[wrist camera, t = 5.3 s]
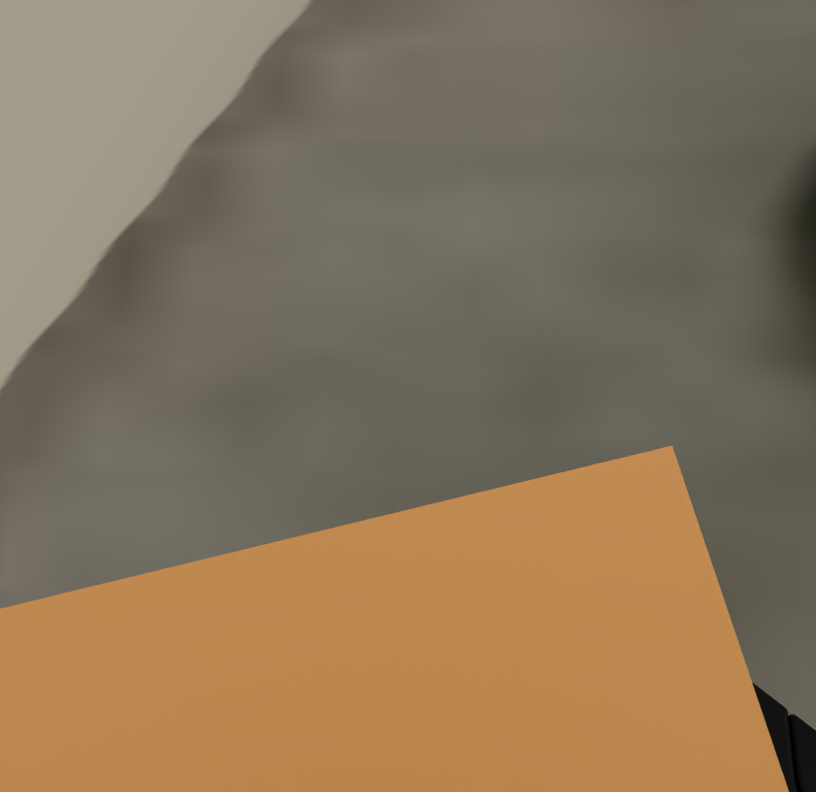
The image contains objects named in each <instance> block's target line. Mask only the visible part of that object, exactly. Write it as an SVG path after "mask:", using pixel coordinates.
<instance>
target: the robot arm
mask: <svg viewBox="0 0 816 792" xmlns="http://www.w3.org/2000/svg"><path fill="white" fill-rule="evenodd" d="M752 684H753V687H754V690H755V693H756V696H757V699H758V702H759V705H760V708H761V710H762V713H763V716H764V719H765V722H766V725H767V728H768V731H769V734H770V737H771V740H772V743H773V746H774V749H775V752H776V755H777V758H778V761H779V764H780V767H781V770H782V773H783V776H784V779H785V782H786V784H787V787H788V790H789V792H816V731H815V730H814V729H813V728H811V727H810V726H809V725H808V724H806V723H805V722H804V721H802V720H801V719H800V718H799V717H797V716H796V715H794V714H791V715H789V716H788V711H787V709H786V708H785V707H784V706H782V705H781V704H780V703H779V702H777V701H776V700H775V699H773V698H772V697H771V696H769V695H768V694H767V693H765V692H764V691H763V690H762V689H760V688H759V687H758V686H756V685H755V684H754V683H752Z"/></svg>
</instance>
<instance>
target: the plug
mask: <svg viewBox="0 0 816 792" xmlns="http://www.w3.org/2000/svg"><path fill="white" fill-rule="evenodd" d="M0 792H789V790H788V787H787V784H786V782H785V779H784V776H783V773H782V770H781V767H780V764H779V761H778V758H777V755H776V752H775V749H774V746H773V743H772V740H771V737H770V734H769V731H768V728H767V725H766V722H765V719H764V716H763V713H762V710H761V708H760V705H759V702H758V699H757V696H756V693H755V690H754V687H753V684H752V681H751V678H750V675H749V672H748V669H747V666H746V663H745V660H744V657H743V654H742V651H741V648H740V645H739V642H738V639H737V636H736V634H735V631H734V628H733V625H732V622H731V619H730V616H729V613H728V610H727V607H726V604H725V601H724V598H723V595H722V592H721V589H720V586H719V583H718V580H717V577H716V574H715V571H714V568H713V565H712V562H711V560H710V557H709V554H708V551H707V548H706V545H705V542H704V539H703V536H702V533H701V530H700V527H699V524H698V521H697V518H696V515H695V512H694V509H693V506H692V503H691V500H690V497H689V494H688V491H687V488H686V486H685V483H684V480H683V477H682V474H681V471H680V468H679V465H678V462H677V459H676V456H675V453H674V450H673V447H672V446H669V447H665V448H661V449H657V450H652V451H648V452H644V453H640V454H636V455H632V456H628V457H624V458H619V459H615V460H611V461H607V462H603V463H599V464H595V465H591V466H587V467H582V468H578V469H574V470H570V471H566V472H562V473H558V474H554V475H549V476H545V477H541V478H537V479H533V480H529V481H525V482H521V483H516V484H512V485H508V486H504V487H500V488H496V489H492V490H488V491H484V492H479V493H475V494H471V495H467V496H463V497H459V498H455V499H451V500H446V501H442V502H438V503H434V504H430V505H426V506H422V507H418V508H414V509H409V510H405V511H401V512H397V513H393V514H389V515H385V516H381V517H376V518H372V519H368V520H364V521H360V522H356V523H352V524H348V525H343V526H339V527H335V528H331V529H327V530H323V531H319V532H315V533H311V534H306V535H302V536H298V537H294V538H290V539H286V540H282V541H278V542H273V543H269V544H265V545H261V546H257V547H253V548H249V549H245V550H240V551H236V552H232V553H228V554H224V555H220V556H216V557H212V558H208V559H203V560H199V561H195V562H191V563H187V564H183V565H179V566H175V567H170V568H166V569H162V570H158V571H154V572H150V573H146V574H142V575H137V576H133V577H129V578H125V579H121V580H117V581H113V582H109V583H105V584H100V585H96V586H92V587H88V588H84V589H80V590H76V591H72V592H67V593H63V594H59V595H55V596H51V597H47V598H43V599H39V600H35V601H30V602H26V603H22V604H18V605H14V606H10V607H6V608H2V609H0Z"/></svg>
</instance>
